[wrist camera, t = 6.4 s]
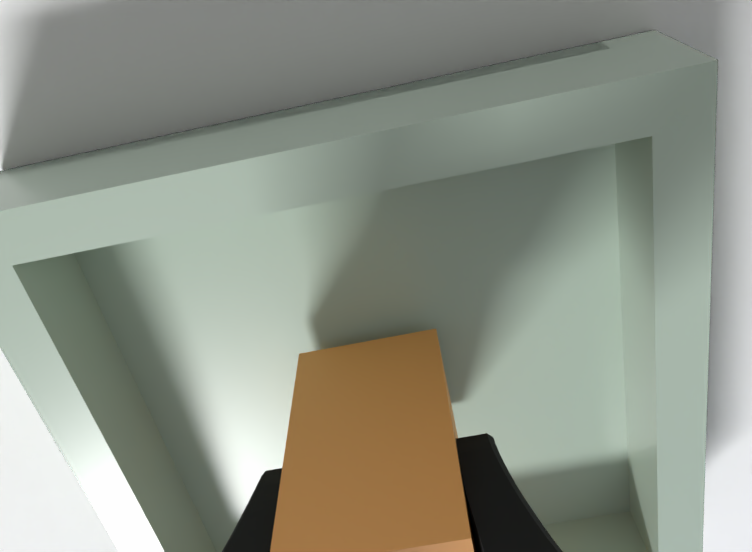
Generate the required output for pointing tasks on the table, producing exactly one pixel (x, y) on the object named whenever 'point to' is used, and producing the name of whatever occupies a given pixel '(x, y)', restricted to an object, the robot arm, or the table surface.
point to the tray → (387, 289)
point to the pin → (372, 453)
